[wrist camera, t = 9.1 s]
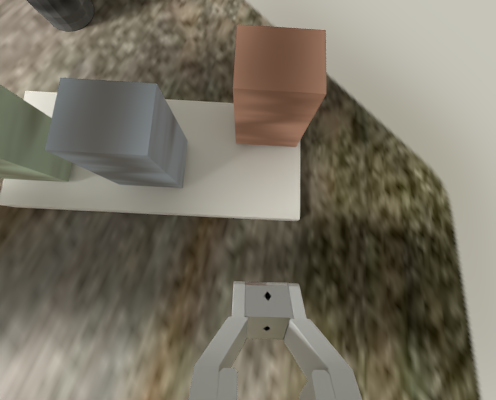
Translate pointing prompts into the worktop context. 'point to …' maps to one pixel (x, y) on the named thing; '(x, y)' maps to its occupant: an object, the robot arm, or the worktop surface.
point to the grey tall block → (118, 132)
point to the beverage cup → (65, 12)
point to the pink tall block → (277, 83)
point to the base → (195, 176)
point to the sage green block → (27, 142)
